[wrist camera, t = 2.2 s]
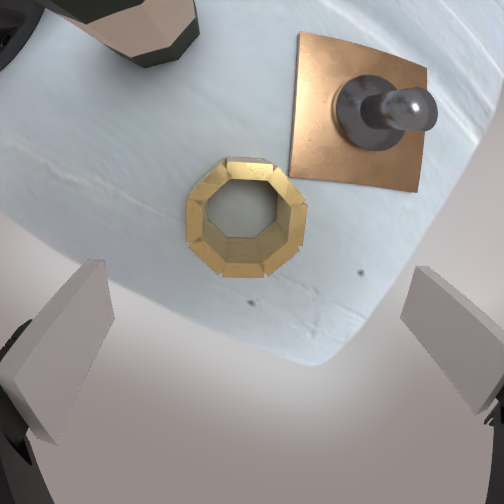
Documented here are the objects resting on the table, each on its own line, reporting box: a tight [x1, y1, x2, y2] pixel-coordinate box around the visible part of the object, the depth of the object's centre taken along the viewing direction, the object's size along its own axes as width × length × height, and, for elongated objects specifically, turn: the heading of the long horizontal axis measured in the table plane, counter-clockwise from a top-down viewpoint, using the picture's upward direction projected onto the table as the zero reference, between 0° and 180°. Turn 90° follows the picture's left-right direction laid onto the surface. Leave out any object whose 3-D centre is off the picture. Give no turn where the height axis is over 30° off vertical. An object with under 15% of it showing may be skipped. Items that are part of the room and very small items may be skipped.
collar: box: [186, 157, 307, 278], centre depth 24 cm, size 9×9×6 cm
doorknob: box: [288, 31, 438, 193], centre depth 20 cm, size 14×14×10 cm
